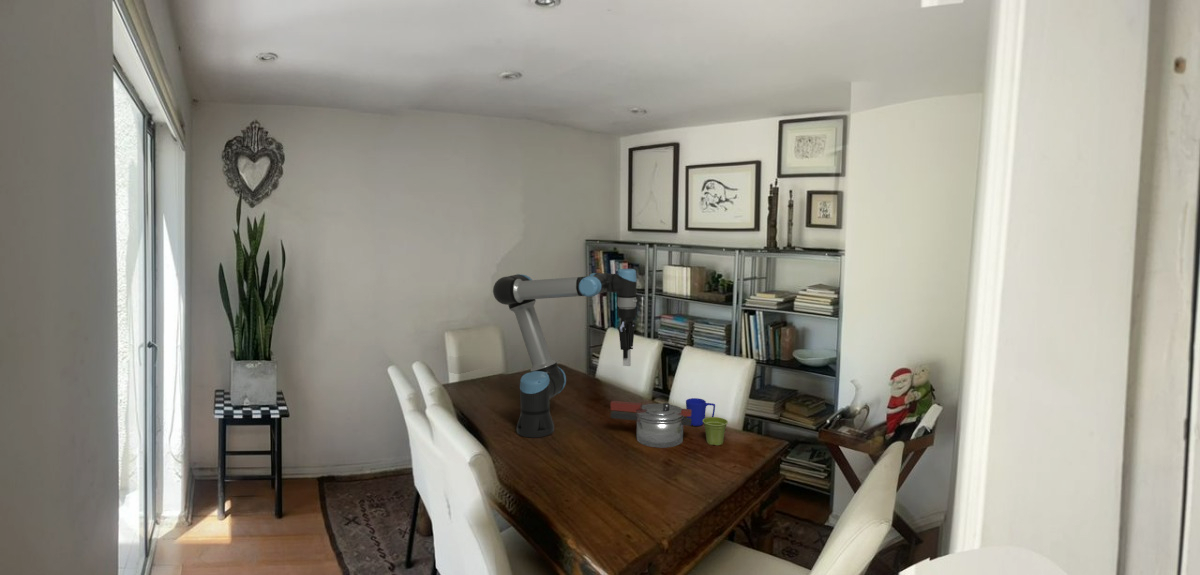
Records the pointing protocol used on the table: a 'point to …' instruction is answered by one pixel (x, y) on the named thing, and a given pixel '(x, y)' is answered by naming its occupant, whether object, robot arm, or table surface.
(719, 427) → the plant pot
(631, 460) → the table surface
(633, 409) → the lid
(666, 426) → the pot
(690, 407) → the mug
